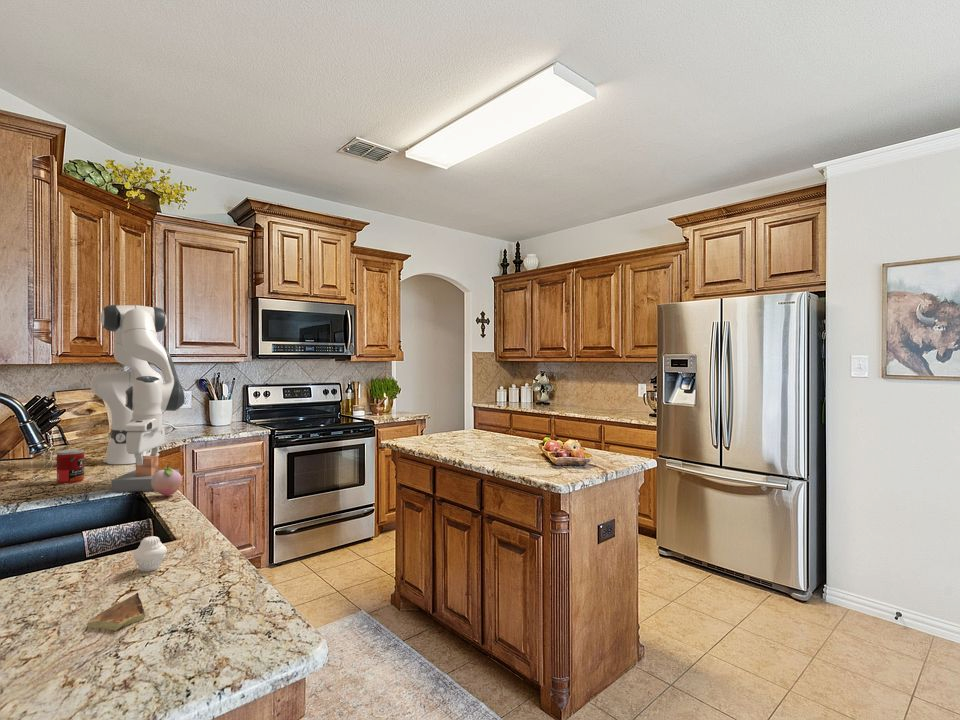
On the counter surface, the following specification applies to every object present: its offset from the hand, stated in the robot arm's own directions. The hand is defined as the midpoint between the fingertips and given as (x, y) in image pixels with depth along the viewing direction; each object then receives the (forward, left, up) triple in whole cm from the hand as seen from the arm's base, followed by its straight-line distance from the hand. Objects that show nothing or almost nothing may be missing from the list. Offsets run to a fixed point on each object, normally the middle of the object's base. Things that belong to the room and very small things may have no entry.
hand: (147, 462), depth 180 cm
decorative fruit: (+16, +13, -9) cm, 22 cm away
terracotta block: (0, 0, -4) cm, 4 cm away
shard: (+97, +39, -9) cm, 105 cm away
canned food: (-10, -30, -9) cm, 33 cm away
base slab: (0, 0, -8) cm, 8 cm away
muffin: (+76, +35, -9) cm, 84 cm away
